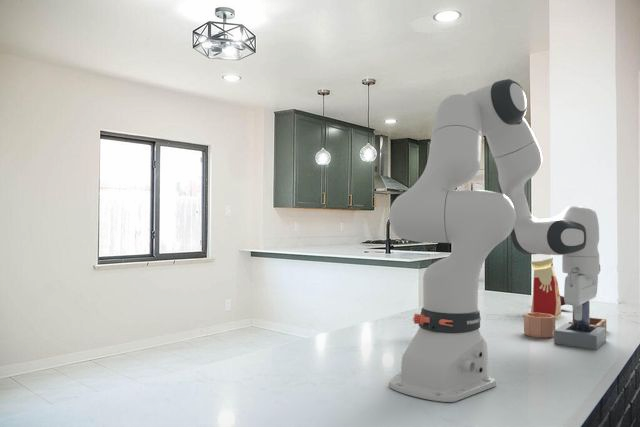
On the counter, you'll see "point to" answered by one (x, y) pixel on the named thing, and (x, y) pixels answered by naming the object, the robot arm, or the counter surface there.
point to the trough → (596, 322)
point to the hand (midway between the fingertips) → (581, 318)
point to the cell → (585, 322)
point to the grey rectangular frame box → (580, 336)
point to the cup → (539, 325)
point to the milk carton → (545, 289)
